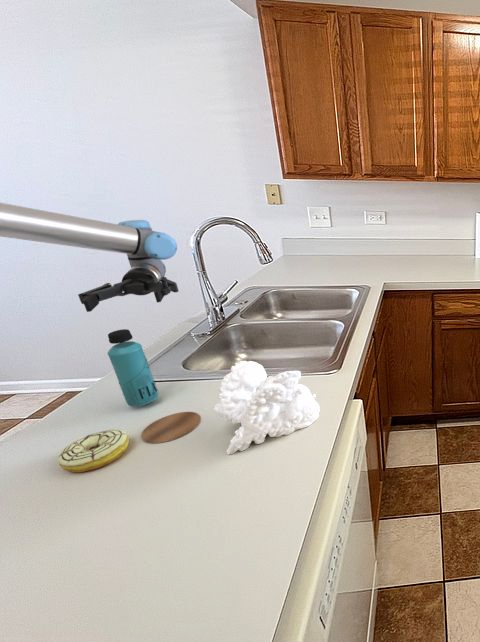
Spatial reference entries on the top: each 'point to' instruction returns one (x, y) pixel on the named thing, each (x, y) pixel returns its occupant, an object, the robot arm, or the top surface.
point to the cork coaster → (171, 427)
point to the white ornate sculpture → (264, 404)
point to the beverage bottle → (131, 369)
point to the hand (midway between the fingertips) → (123, 301)
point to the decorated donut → (93, 451)
